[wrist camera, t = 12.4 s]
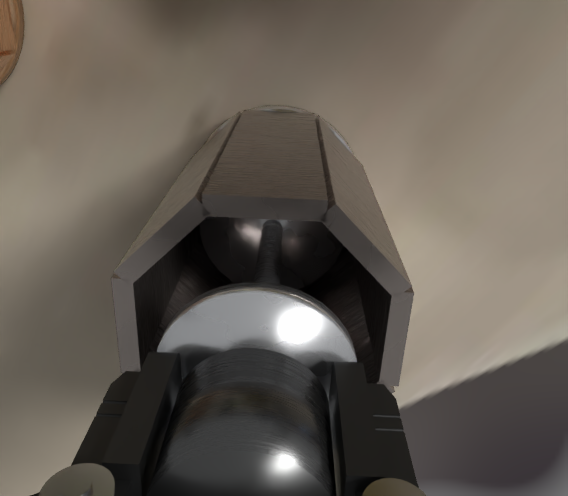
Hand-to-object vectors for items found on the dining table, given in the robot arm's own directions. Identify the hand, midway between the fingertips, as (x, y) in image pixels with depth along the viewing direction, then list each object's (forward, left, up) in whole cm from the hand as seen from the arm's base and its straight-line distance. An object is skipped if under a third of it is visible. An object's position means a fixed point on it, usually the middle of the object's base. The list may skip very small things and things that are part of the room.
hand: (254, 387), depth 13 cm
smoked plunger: (0, 0, -11) cm, 11 cm away
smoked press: (0, +1, -15) cm, 15 cm away
